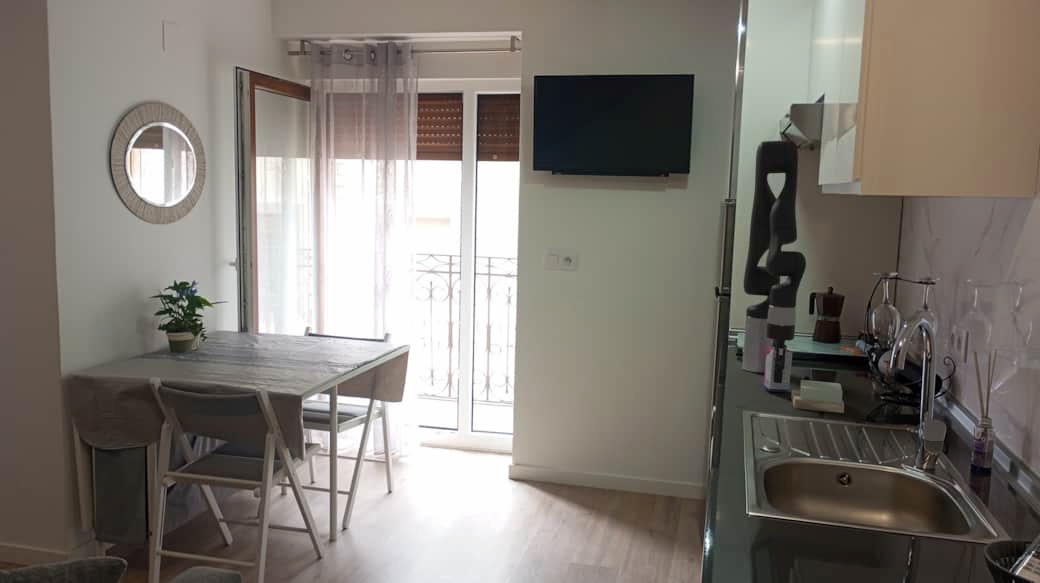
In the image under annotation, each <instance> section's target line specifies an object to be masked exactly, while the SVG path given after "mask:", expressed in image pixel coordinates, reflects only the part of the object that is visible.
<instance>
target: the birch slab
mask: <svg viewBox="0 0 1040 583" xmlns="http://www.w3.org/2000/svg"><path fill="white" fill-rule="evenodd" d="M791 400H792V405H793V407H794V409H799V410H807V411H808V410H809V411H810V410H811V411H817V412H818V411H819V412H830V413H838V414H839V413H840V414H844V413H845V403H844V400H842V403H834V402H825V401H816V400H807V399H801V398H800V389H799V388H798V389H796V388H792V389H791Z"/></svg>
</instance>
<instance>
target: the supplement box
mask: <svg viewBox="0 0 1040 583" xmlns="http://www.w3.org/2000/svg"><path fill="white" fill-rule="evenodd" d="M773 357H776V351H773V350H772V348H767V353H766V363H765V373H764V375H763V388H765V389H766V390H768V392H789V391H790V382H791V373H792V372H791V371H792V361H793V351H791V350H789V349H787V352H786V361H785V365H784V366H785V368H784V369H783V374H782V383H775V382H774V363H775V362H774V361H773ZM777 364H779V365H782V363H781V362H778V361H777Z"/></svg>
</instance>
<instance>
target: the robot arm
mask: <svg viewBox="0 0 1040 583" xmlns="http://www.w3.org/2000/svg"><path fill="white" fill-rule="evenodd" d="M798 169H799V152H798V146H797V144H796V142H795V141H793V140H789V139H788V140H767V141H761V142H760V143H759V144H758V146H757V150H756V152H755V170H754V171H755V172H754V174H755V175H754V178H755V179H754V193H753V194H754V195H753V201H752V202H753V203H752V209H751V215H750V216H751V218H750V227H749V241H748V251H747V257H746V258H747V259H746V264H745V270H744V274H743V275H744V276H743V290H744V293H745V294H747V295H750V296H760V297H761V296H764V297H765V296H766V299H765V300H763V301H762V302H760V303H757V304H753V305H749V306H748V307H747V308H746V311H745V312H746V314H745V326H744V342H743V352H742V353H743V354H742V367H741V368H742V370H744V371H747V372H751V373H760V374H762V373H764V374H765V363H766V353H767V348H772V350H773V351H776V357H773V361H774V362H775V363H774V382H775V383H782V374H783V369H784V368H785V366H784V365H785V361H786V352H787V350H788V346H787V344H786V341H792V340H794V339H795V331H796V320H797V319H796V318H797V311H796V310H797V309H796V308H797V295H798V290H799V288H800V285H801V282H802V279H803V277H804V274H805V272H806V269H807V268H806V266H807V260H806V256H804V253H802V252H801V251H792V250H791V251H786V250H782V248H783V246H784V245H785V246H786V245H790V244H794V243H795V242H796V241H797V239H798V231H797V230H798V229H797V228H798V226H797V217H796V216H797V214H796V208H797V207H796V205H797V204H796V201H797V193H798V192H797V191H798V190H797V189H798V173H799V172H798ZM769 174H785V176H784V177H785V179H784V184H783V187H782V189H781V191H780V193H779V195H778V197H776V196H775V194H774V193H773V191H772V189H771V188H772V187H771V186H770V184H769V181H768V175H769ZM767 251H768V252H767ZM766 252H767V256H766V261H765V266H762V265H761V266H759V263H760V261H761V259H762V257H764V255H765V254H766ZM781 277H787V278H786V279H785V281H784V282H783V283H781ZM777 361H778V362H781V363H782V365H779V364H777Z"/></svg>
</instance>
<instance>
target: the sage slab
mask: <svg viewBox="0 0 1040 583" xmlns="http://www.w3.org/2000/svg"><path fill="white" fill-rule="evenodd" d="M841 385H842V384H841V383H838V382H837V383H836V382H827V381H826V382H825V381H818V380H817V381H816V380H808V379H807V380H806V379H800V386H799V390H800V398H801V399H807V400H816V401H825V402H834V403H842V401H843V389H842V386H841Z"/></svg>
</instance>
